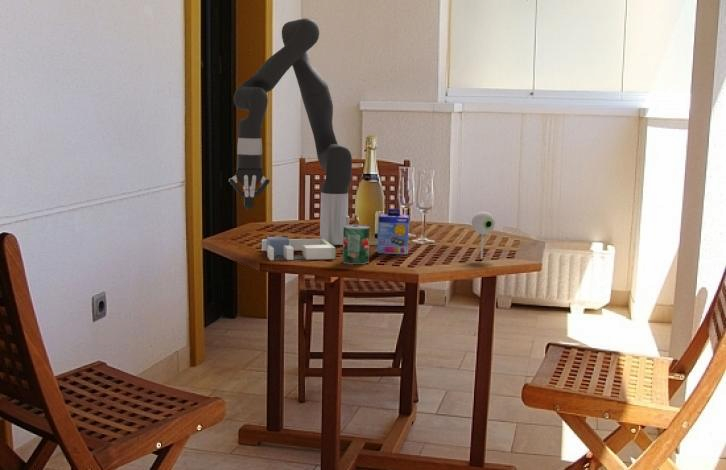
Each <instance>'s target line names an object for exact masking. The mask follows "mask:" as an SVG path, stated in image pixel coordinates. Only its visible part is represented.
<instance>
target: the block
mask: <svg viewBox="0 0 726 470" xmlns="http://www.w3.org/2000/svg"><path fill="white" fill-rule="evenodd" d="M266 239H267V251H266V253H267V254H268V246H272V247H273V248H274V256H278V255H279V256H284V245H289V239H290V238H288V237H286V236H267V237H266Z"/></svg>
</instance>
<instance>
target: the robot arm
mask: <svg viewBox="0 0 726 470" xmlns="http://www.w3.org/2000/svg"><path fill="white" fill-rule="evenodd" d="M281 38H282V42H283V45H284V46H283V47H282V48H280V49H279V50H278V51H276V52H275V53H273V54H272V55H271V56H270V57H269V58H268V59H267V60H266V61H264V62H263V63H262V65H261V66H260V68H258V70H257V71H256V72H255V74H254V75H252V76H251V77H250V78H248V79H246V81H244V82H243V83H241V85H239V86H238V87H237V88H236V91H234V94H233V103H234V105H235V107H236V108H237V109H239V110H242V111H249V112H248V115H247V117H244V118H241V119H240V120H239V122H238V139H237V148H236V149H237V151H236V152H237V154H236V157H237V158H236V160H237V161H236V163H237V164H236V171H235V175H234V176H232V177H231V178H230V177H229V178H228V182H229V183H230V185H231V186H232V187H233V188H234V189H235V191H236V192H237V193H238V195H239V196H243V206H244V208H245V209H246V210H252V209H253V208H254V206H255V205H254V204H255V197H257V196H259V195H260V194H261V193H262V192H263V191H264V190H265V189H266V187H267V186H268V185H269V184H270V183H271V182H270V181H271V180H270V179H268V178H266V176H264V172H263V169H262V167H263V159H262V158H263V143H262V142H263V141H262V139H263V138H262V126H263V122H264V119H265V115H266V111H267V108H268V103H269V102H268V101H269V99H268V95H267V93H269V92H271V91H272V90H273V89H274V88H275V87H276V85H277V84H278V83H279V82H280V80H281V79H282V78H283V76H285V74H286V73H287V72H288V71H289V69H290V68H291V67H292V68H293V72H294V75H295V77H296V82H297V85H298V87H299V91H300V95H301V99H302V103H303V106H304V109H305V112H306V114H307V118H308V121H309V126H310V128H311V131H312V136H313V140H314V145H315V149H316V156H317V162H318V163H319V166H320V167H321V168H322V169H323V170H325V179H324V181H323V182H322V183H321V186H320V218H319V219H320V221H319V222H320V223H319V224H320V226H319V239H325V240H326V241H327V242H329V243H330V244H331V245H332V246H343V236H344V235H343V234H344V225H350V216H349V215H348V214H349V189H350V186H351V183H352V173H353V172H352V169H353V159H352V158H353V157H352V153H351V151H350V150H349V148H348V147H346V146H344V145H340V144H338V140H337V138H336V135H335V133H334V126H333V116H334V108H333V107H334V105H333V100H332V96H331V92H330V89H329V85H328V83H327V82H326V80H325V79H324V78H323V76H322V75H321V74H320V73H319V72H318V70H317V69H316V68H315V67H314V66H313V64H312V62H311V61H310V58H309V56H308V51H310V49H312V47H313V46H315V45H316V43H317V42H318V41H319V38H320V29H319V26H318V24H317V22H316V21H315V20H313V19H312V18H306V17H305V18H300V19H296V20H290V21H287V22H286V23H284V24H283V26H282V28H281ZM238 181H239V184H240V185H242V188H243V190H242V189H241V188H240V187H239V185H238V184H237V183H238ZM259 182H260V183H261V184H259ZM258 184H259V186H258V187H257V189H256V186H257V185H258Z"/></svg>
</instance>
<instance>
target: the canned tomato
mask: <svg viewBox="0 0 726 470" xmlns="http://www.w3.org/2000/svg"><path fill="white" fill-rule="evenodd" d="M370 227H371V226H369V225H366V224H358V223H357V224H356V223H355V224H349V225H344V234H343V235H344V236H343V245H342V246H343V247H342V249H343V250H342V263H344V264H346V263H347V265H353V264H362V265H367V264H366V263H368V264H369V262H370V261H369V260H370V259H369V257H370V256H369V255H370V253H369V252H370Z"/></svg>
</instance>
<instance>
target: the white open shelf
mask: <svg viewBox="0 0 726 470" xmlns="http://www.w3.org/2000/svg"><path fill="white" fill-rule="evenodd" d="M288 239H289V245H284V255H279V256H274V248H273V247H272V246H268V253H267V258H268V259H269V260H270V261H291V260H292V261H297V260H307V261H308V260H336V247H335V245H331V244H330V243H329V242H327V241H326V240H325V239H320V238H288ZM261 251H262V252H267V238H266V239H261ZM294 251H302V255H294ZM286 259H287V260H286Z"/></svg>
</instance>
